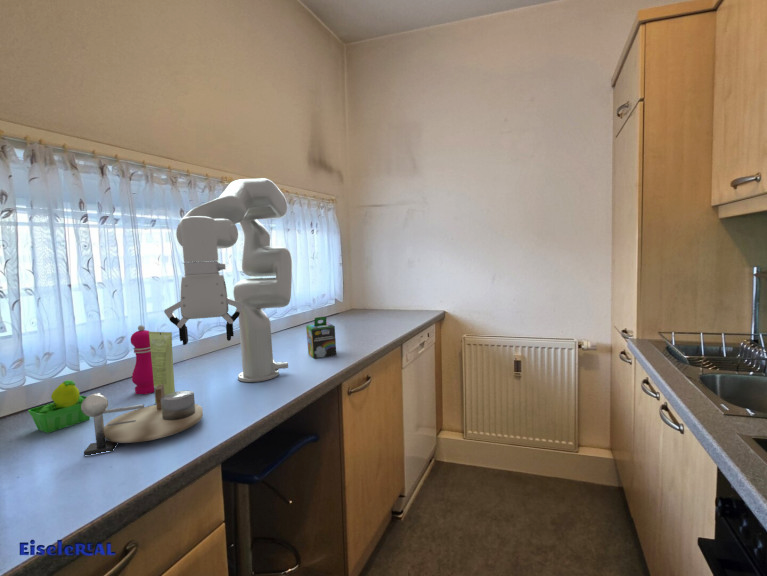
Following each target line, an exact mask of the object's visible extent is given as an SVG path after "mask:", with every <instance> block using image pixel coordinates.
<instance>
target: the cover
mask: <svg viewBox="0 0 767 576" xmlns="http://www.w3.org/2000/svg"><path fill="white" fill-rule="evenodd" d="M195 404H196V401H195V393H194V391H192V390H179V391H175V392H173V393H169V394H166V395H164V396H162V397H161V409H162V418H163V419H164V420H179V419H184V418H187V417H189V416H191V415H193V414H194V413H195V412H196V411H195Z"/></svg>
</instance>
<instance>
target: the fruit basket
mask: <svg viewBox="0 0 767 576" xmlns="http://www.w3.org/2000/svg"><path fill="white" fill-rule="evenodd" d="M87 397H88V396H85V395H80V389H79V388H78V387H77V386H76V383H75V381H73V380H69V379H68V380H64V381H63V382H62V383H60V384H59V385H58V386H57V387H56V388H55V389H54V390H53V391H52V393H51V400H52V401H53V402H51V403H48V404H44V405H41V406H37V407H33V408H30V409H28V410H27V411H28V414H29V415H30V416H31V418H32V421H33V422H34V424H35V426H36V428H37V430H39V431H41V432H45V433H46V434H49V433H52V432H55V431H57V430H62V429H64V428H68V427H70V426H73V425H77V424H80V423H84V422H86V421H89V420H90V419H91V417H89V416H87V415H85V414H84V413H83V412H82V410H81V404H82V402H83V401H84V400H85V399H86V398H87Z"/></svg>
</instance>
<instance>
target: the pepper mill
mask: <svg viewBox="0 0 767 576" xmlns="http://www.w3.org/2000/svg"><path fill="white" fill-rule="evenodd" d="M137 330H138V331H134V333H132V334H131V337H130V344H131V345H132V346H133V347H134V348H133V353H134V354H135V365H134V368H133V371H132V374H131V381H132V383H133V384H134V385H135V387H134V392H135V394H136V395H137V394H145V395H149V393H150V394H154V393H153V392H154V381H153V369H152V358H151V348H150V338H149V332H151V331H149V330H148V329H147V330H146V329H145V326H144V325H143V324H141V325H139V326H138V327H137Z"/></svg>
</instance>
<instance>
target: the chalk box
mask: <svg viewBox="0 0 767 576" xmlns="http://www.w3.org/2000/svg"><path fill="white" fill-rule="evenodd" d="M320 320H321V321H322V322H319V321H320ZM313 323H314V324H308V325H306V326H305V328H306V340H307V341H306V342H307V353H308V355H309V356H310V357H311V358H313V359H314V360H315V359H319V358H320V359H321V358H327V357H329V358H330V357H335V355H336V356H337V345H336V344H337V343H336V342H337V341H336V326H335V325H333V324H332V323H330V322H328V321H327V316H318V317H315V318H314V322H313Z"/></svg>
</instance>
